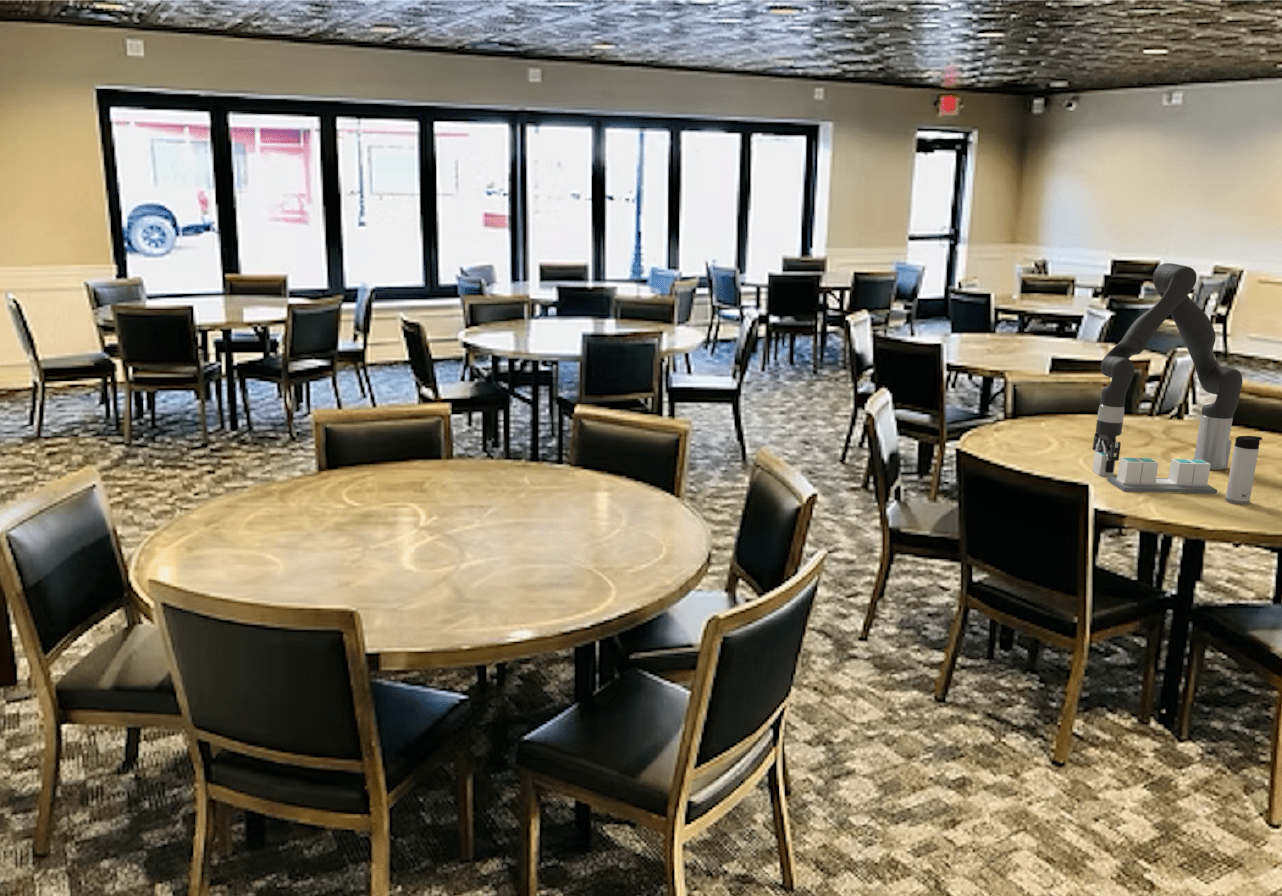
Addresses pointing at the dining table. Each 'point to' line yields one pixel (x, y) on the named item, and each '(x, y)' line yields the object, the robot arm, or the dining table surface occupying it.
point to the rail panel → (1181, 478)
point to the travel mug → (1242, 469)
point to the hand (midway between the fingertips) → (1103, 468)
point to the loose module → (1101, 464)
